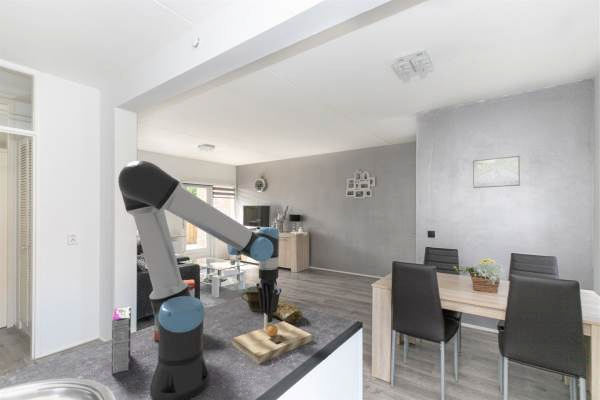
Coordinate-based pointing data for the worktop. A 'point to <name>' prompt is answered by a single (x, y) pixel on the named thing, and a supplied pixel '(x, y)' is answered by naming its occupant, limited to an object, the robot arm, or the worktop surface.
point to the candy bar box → (121, 340)
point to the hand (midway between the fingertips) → (267, 329)
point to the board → (271, 342)
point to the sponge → (288, 312)
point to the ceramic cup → (252, 298)
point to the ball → (272, 330)
